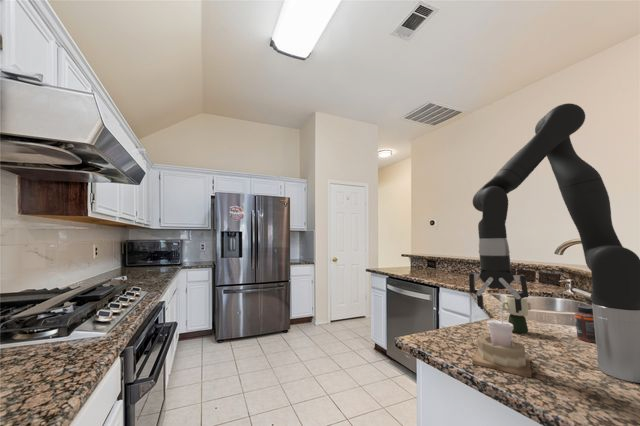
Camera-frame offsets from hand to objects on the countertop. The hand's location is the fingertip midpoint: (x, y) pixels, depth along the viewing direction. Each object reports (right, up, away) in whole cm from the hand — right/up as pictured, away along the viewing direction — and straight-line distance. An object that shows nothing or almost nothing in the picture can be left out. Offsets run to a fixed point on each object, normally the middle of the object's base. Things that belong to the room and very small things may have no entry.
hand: (499, 310), depth 77 cm
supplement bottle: (+42, -17, +16) cm, 48 cm away
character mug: (+24, -17, +25) cm, 38 cm away
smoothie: (0, -14, -1) cm, 14 cm away
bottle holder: (0, -14, -1) cm, 14 cm away
